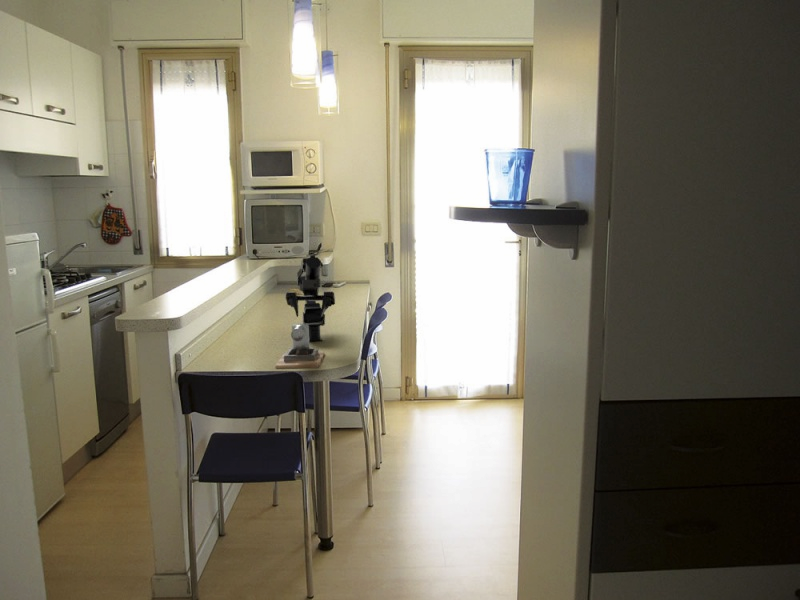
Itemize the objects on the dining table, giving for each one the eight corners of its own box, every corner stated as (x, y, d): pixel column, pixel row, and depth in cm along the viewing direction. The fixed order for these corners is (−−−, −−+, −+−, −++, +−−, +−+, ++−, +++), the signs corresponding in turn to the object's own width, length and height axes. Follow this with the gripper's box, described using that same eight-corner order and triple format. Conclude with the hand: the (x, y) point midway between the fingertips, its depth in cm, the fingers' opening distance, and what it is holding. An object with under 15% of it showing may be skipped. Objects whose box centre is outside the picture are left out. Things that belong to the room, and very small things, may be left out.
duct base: (284, 354, 242) (284, 347, 242) (324, 354, 242) (324, 346, 242) (275, 368, 225) (275, 359, 224) (318, 367, 224) (317, 359, 224)
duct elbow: (294, 355, 238) (293, 323, 236) (310, 354, 238) (309, 322, 236) (290, 362, 228) (288, 329, 226) (306, 362, 228) (305, 328, 226)
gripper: (285, 271, 248) (281, 304, 239) (333, 270, 248) (331, 304, 239) (289, 288, 257) (286, 321, 248) (336, 287, 257) (334, 320, 248)
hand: (309, 316), depth 246 cm, fingers open, 9 cm apart
